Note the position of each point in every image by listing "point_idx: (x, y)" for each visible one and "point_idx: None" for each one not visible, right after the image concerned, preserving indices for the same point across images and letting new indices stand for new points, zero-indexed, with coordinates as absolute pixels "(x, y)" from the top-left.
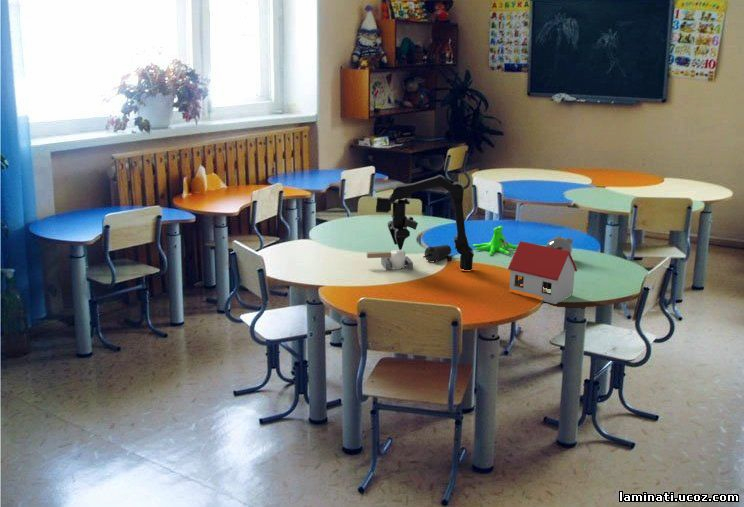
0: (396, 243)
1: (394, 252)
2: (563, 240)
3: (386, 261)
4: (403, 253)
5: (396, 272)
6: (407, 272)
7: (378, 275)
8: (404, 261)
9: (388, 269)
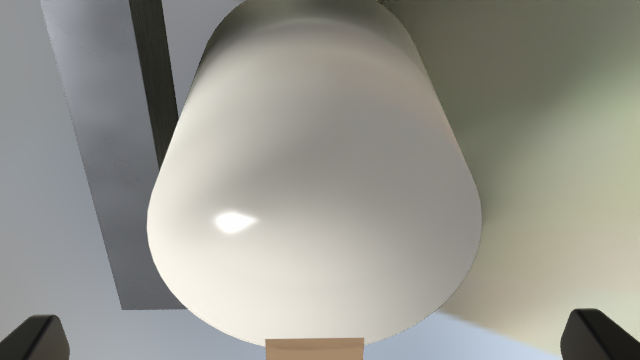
0: (51, 344)
1: (335, 296)
2: None
3: None
4: (450, 160)
5: (558, 155)
6: (620, 13)
7: None
8: (401, 48)
9: None
